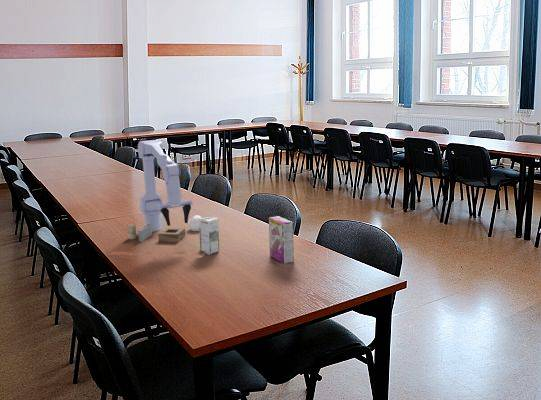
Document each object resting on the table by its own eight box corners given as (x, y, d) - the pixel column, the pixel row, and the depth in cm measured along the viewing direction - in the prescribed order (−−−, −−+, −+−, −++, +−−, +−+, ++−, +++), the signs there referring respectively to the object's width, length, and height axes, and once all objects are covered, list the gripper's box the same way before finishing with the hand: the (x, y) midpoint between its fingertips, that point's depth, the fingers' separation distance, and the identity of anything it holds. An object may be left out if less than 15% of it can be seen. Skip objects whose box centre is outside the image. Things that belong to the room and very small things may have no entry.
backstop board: (147, 236, 256) (146, 224, 255) (190, 237, 252) (189, 225, 251) (137, 243, 245) (136, 230, 244) (182, 245, 242) (181, 231, 240)
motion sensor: (186, 233, 259) (185, 217, 258) (191, 229, 267) (190, 213, 265) (203, 234, 258) (202, 218, 256) (207, 229, 265) (206, 214, 264)
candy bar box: (269, 256, 223) (268, 217, 220) (279, 254, 226) (278, 215, 222) (283, 264, 214) (282, 223, 210) (294, 262, 216) (293, 221, 213)
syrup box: (209, 249, 235) (208, 216, 232) (220, 251, 231) (218, 218, 228) (200, 252, 231) (198, 218, 227) (210, 255, 227) (208, 220, 224)
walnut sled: (166, 235, 253) (166, 227, 253) (185, 235, 252) (185, 228, 251) (158, 241, 244) (158, 233, 243) (178, 242, 242) (177, 234, 242)
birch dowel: (130, 239, 252) (129, 224, 251) (137, 239, 252) (136, 224, 250) (127, 241, 249) (125, 226, 247) (134, 241, 248) (133, 226, 247)
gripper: (159, 194, 228) (163, 227, 229) (193, 190, 234) (196, 222, 235) (155, 194, 234) (159, 226, 235) (188, 190, 240) (191, 221, 242)
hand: (177, 224), depth 236 cm, fingers open, 7 cm apart
